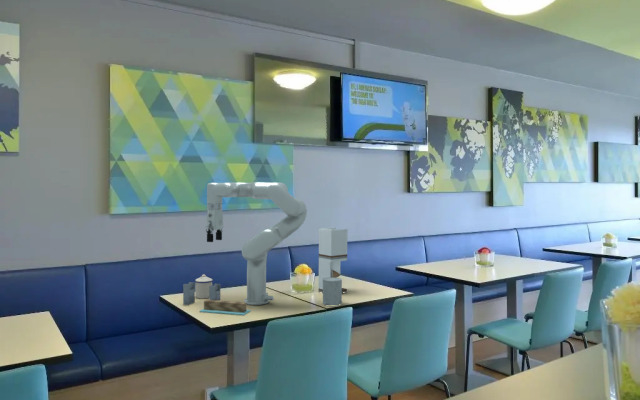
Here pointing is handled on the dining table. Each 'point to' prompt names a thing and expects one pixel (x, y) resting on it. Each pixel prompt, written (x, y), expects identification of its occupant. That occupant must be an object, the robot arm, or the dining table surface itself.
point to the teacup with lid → (202, 287)
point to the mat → (225, 312)
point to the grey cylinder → (332, 291)
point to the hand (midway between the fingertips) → (214, 240)
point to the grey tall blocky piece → (331, 253)
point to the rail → (225, 306)
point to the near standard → (214, 292)
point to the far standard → (189, 293)
